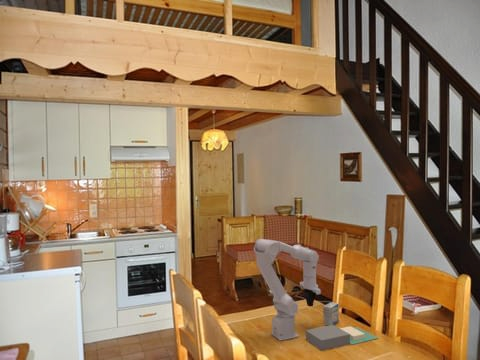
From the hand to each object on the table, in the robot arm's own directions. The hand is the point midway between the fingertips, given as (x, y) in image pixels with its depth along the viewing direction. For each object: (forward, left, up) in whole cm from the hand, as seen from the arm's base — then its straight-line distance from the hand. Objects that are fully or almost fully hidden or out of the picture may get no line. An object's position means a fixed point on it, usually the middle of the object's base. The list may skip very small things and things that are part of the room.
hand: (310, 305), depth 167 cm
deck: (-2, -16, -10) cm, 19 cm away
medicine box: (+12, 0, -10) cm, 16 cm away
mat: (+12, -16, -10) cm, 22 cm away
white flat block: (+11, -16, -8) cm, 20 cm away
